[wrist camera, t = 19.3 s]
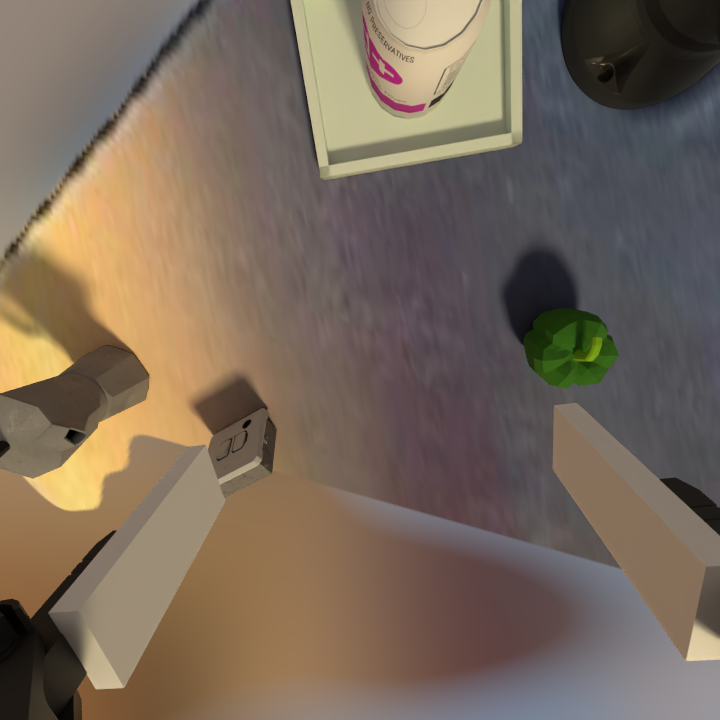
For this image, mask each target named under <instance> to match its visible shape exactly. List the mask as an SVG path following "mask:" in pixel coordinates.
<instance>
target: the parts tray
mask: <svg viewBox="0 0 720 720" xmlns="http://www.w3.org/2000/svg"><path fill="white" fill-rule="evenodd" d="M291 6H292V12H293V18H294V23H295V29H296V35H297V41H298V47H299V53H300V59H301V64H302V70H303V76H304V82H305V88H306V94H307V100H308V105H309V111H310V117H311V123H312V129H313V135H314V140H315V146H316V152H317V158H318V164H319V170H320V176H321V178H322V179H323V180H329V179H335V178H341V177H346V176H352V175H358V174H363V173H369V172H375V171H381V170H386V169H392V168H398V167H403V166H409V165H415V164H420V163H426V162H432V161H438V160H443V159H449V158H455V157H460V156H466V155H472V154H478V153H483V152H489V151H495V150H500V149H506V148H512V147H515V146H517V145H519V144H520V143H522V0H491V5H490V9H489V12H488V14H487V17H486V19H485V22H484V24H483V27H482V29H481V32H480V34H479V36H478V38H477V40H476V42H475V43H474V45H473V47H472V49H471V51H470V53H469V54H468V56H467V58H466V60H465V62H464V64H463V65H462V67H461V69H460V71H459V73H458V74H457V76H456V78H455V80H454V82H453V84H452V85H451V87H450V89H449V91H448V93H447V95H446V96H445V97H444V98H443V100H442V101H441V102H440V104H439V105H438V106H437V107H436V108H435V109H434V110H432V111H431V112H429V113H428V114H426V115H424V116H423V117H419V118H414V119H409V120H407V119H402V118H397V117H393V116H392V115H390V114H389V113H388V112H386V111H385V110H383V109H382V108H381V107H380V106H379V104H378V103H377V101H376V100H375V98H374V97H373V95H372V93H371V89H370V86H369V82H368V79H367V67H366V54H365V41H364V28H363V15H362V0H291Z"/></svg>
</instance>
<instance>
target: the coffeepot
mask: <svg viewBox="0 0 720 720" xmlns="http://www.w3.org/2000/svg"><path fill="white" fill-rule="evenodd" d="M149 378H150V377H149V375H148V373H147V371H146V370H145V368H144V366H143V365H142V363H141V362H140V361H139V360H138V359H137V358H136V357H135V356H134V354H132V353H130V352H127V351H125V350H123V349H120V348H116V347H111V346H108V345H105V346H103V347H101V348H99V349H97V350H95V351H93V352H91V353H88V354H86V355H85V356H83V357H82V358H81V359H79V360H78V361H77V362H75V363H74V364H73V365H72V366H70V367H69V368H68V369H66V370H65V371H64V372H62V373H61V374H60V375H58V376H56V377H53V378H50V379H46V380H43V381H40V382H37V383H33V384H30V385H27V386H23V387H20V388H17V389H14V390H10V391H7V392H4V393H0V468H1V469H4V470H8V471H11V472H14V473H17V474H20V475H23V476H27V477H30V478H35V477H38V476H40V475H42V474H45V473H47V472H50V471H52V470H54V469H57V468H59V467H61V466H62V465H63V464H64V463H65V462H66V461H67V460H68V458H69V457H70V456H71V455H72V454H73V453H74V452H75V451H76V450H77V449H78V448H79V447H80V446H81V445H82V444H83V442H84V441H85V440H86V439H87V438H88V437H89V436H90V435H91V434H92V433H93V432H94V431H95V430H96V429H97V427H98V423H99V422H101V421H103V420H105V419H107V418H109V417H111V416H113V415H115V414H117V413H119V412H121V411H123V410H125V409H128V408H130V407H132V406H134V405H136V404H138V403H140V402H142V401H144V400H146V396H147V392H148V389H149Z"/></svg>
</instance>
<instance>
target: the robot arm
mask: <svg viewBox="0 0 720 720" xmlns="http://www.w3.org/2000/svg"><path fill="white" fill-rule="evenodd" d="M562 45H563V52H564V57H565V61H566V64H567V67H568V69H569V72H570V74H571V76H572V78H573V80H574V81H575V83H576V84H577V86H578V87H579V88H580V89H581V90H582V91H583V92H584V93H585V94H586V95H587V96H588V97H589V98H591V99H592V100H594V101H595V102H597V103H599V104H601V105H604V106H607V107H610V108H614V109H625V110H628V109H638V108H643V107H647V106H650V105H653V104H656V103H658V102H661V101H663V100H665V99H668V98H670V97H672V96H675V95H677V94H679V93H681V92H682V91H684V90H686V89H687V88H689V87H691V86H692V85H693V84H695V83H696V82H698V81H699V80H700V79H702V78H703V77H704V76H705V75H706V74H708V73H709V72H710V71H711V70H712V69H713V68H714V67H715V66H716V65H717V64H718V63H719V62H720V0H566V4H565V8H564V14H563V22H562ZM553 471H554V472H555V473H556V475H557V476H558V478H559V479H560V481H561V482H562V483H563V485H564V486H565V488H566V489H567V491H568V492H569V494H570V495H571V496H572V498H573V499H574V501H575V502H576V504H577V505H578V506H579V508H580V509H581V511H582V512H583V514H584V515H585V517H586V518H587V519H588V521H589V522H590V524H591V525H592V527H593V528H594V529H595V531H596V532H597V534H598V535H599V537H600V538H601V540H602V541H603V542H604V544H605V545H606V547H607V548H608V550H609V551H610V553H611V554H612V555H613V557H614V558H615V560H616V561H617V563H618V564H619V565H620V567H621V568H622V570H623V571H624V573H625V574H626V575H627V577H628V578H629V580H630V581H631V583H632V584H633V586H634V587H635V588H636V590H637V591H638V593H639V594H640V596H641V597H642V599H643V600H644V601H645V603H646V604H647V606H648V607H649V609H650V610H651V611H652V613H653V614H654V616H655V617H656V619H657V620H658V621H659V623H660V624H661V626H662V627H663V629H664V630H665V632H666V633H667V635H668V636H669V637H670V639H671V640H672V641H673V643H674V645H675V646H676V647H677V649H678V650H679V652H680V653H681V655H682V656H683V658H684V659H685V660H686V661H696V660H717V659H720V508H718V507H717V506H716V504H715V503H714V502H713V501H712V500H710V499H709V498H708V497H707V496H706V495H705V494H703V493H702V492H701V491H700V490H699V489H697V488H695V487H693V486H691V485H689V484H687V483H685V482H683V481H681V480H679V479H677V478H667V479H658V478H657V477H656V476H655V475H654V474H653V473H652V472H651V471H649V470H648V469H647V468H646V467H645V466H644V465H643V464H642V463H641V462H640V461H639V460H638V459H637V458H636V457H634V456H633V455H632V454H631V453H630V452H629V451H628V450H627V449H626V448H625V447H624V446H623V445H622V444H620V443H619V442H618V441H617V440H616V439H615V438H614V437H613V436H612V435H611V434H610V433H609V432H608V431H606V430H605V429H604V428H603V427H602V426H601V425H600V424H599V423H598V422H597V421H596V420H595V419H594V418H592V417H591V416H590V415H589V414H588V413H587V412H586V411H585V410H584V409H583V408H582V407H581V406H580V405H578V404H577V403H571V404H562V405H554V437H553ZM224 503H225V499H224V496H223V493H222V490H221V487H220V484H219V482H218V479H217V476H216V473H215V470H214V467H213V464H212V461H211V459H210V456H209V453H208V450H207V447H206V445H201V446H192V447H187V448H186V449H185V450H184V452H183V453H182V454H181V455H180V456H179V458H178V459H177V460H176V461H175V462H174V463H173V465H172V466H171V467H170V468H169V470H168V471H167V472H166V473H165V474H164V475H163V477H162V478H161V479H160V480H159V481H158V483H157V484H156V485H155V486H154V487H153V489H152V490H151V491H150V492H149V493H148V494H147V496H146V497H145V498H144V499H143V501H142V502H141V503H140V504H139V505H138V506H137V508H136V509H135V510H134V511H133V512H132V514H131V515H130V516H129V517H128V518H127V520H126V521H125V522H124V523H123V524H122V525H121V527H120V528H119V529H118V530H116V531H112V532H111V533H110V534H108V535H107V536H106V537H104V538H103V539H102V540H101V541H99V542H98V543H97V544H96V545H95V546H94V547H93V548H92V549H91V550H90V551H89V553H88V554H87V555H86V556H85V557H84V558H83V559H82V560H83V561H82V562H81V563H79V564H78V565H77V566H76V568H75V569H74V570H73V571H72V572H71V575H69V576H68V577H67V578H66V579H65V580H64V581H63V583H62V584H61V585H60V586H59V587H58V588H57V589H56V591H55V592H54V593H53V594H52V595H51V596H50V598H48V600H47V601H46V602H45V603H44V604H43V605H42V607H41V608H40V609H39V610H38V611H37V612H36V613H35V615H34V616H33V617H32V618H31V619H30V618H29V616H28V615H27V613H26V612H25V610H24V608H23V607H22V605H21V604H20V602H19V601H17V600H14V599H8V600H2V601H0V720H82V705H81V697H80V695H79V692H78V691H77V688H78V687H79V685H80V683H81V682H82V680H83V679H84V677H85V676H86V674H87V675H88V677H89V679H90V680H91V682H92V683H93V685H94V687H95V688H96V689H111V688H124V687H125V685H126V683H127V682H128V680H129V678H130V676H131V674H132V672H133V671H134V669H135V667H136V665H137V663H138V661H139V660H140V657H141V656H142V654H143V652H144V650H145V648H146V647H147V645H148V643H149V641H150V639H151V637H152V636H153V634H154V632H155V630H156V628H157V626H158V624H159V623H160V621H161V619H162V617H163V615H164V613H165V611H166V610H167V608H168V606H169V604H170V602H171V601H172V599H173V597H174V595H175V593H176V591H177V589H178V588H179V586H180V584H181V582H182V580H183V578H184V577H185V575H186V573H187V571H188V569H189V567H190V565H191V564H192V562H193V560H194V558H195V556H196V554H197V553H198V551H199V549H200V547H201V545H202V543H203V541H204V539H205V538H206V536H207V534H208V532H209V531H210V529H211V527H212V525H213V523H214V521H215V519H216V518H217V516H218V514H219V512H220V510H221V508H222V507H223V505H224Z"/></svg>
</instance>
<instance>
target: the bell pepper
mask: <svg viewBox="0 0 720 720" xmlns="http://www.w3.org/2000/svg"><path fill="white" fill-rule="evenodd" d="M607 333H608V330H607V327H606V325H605V324H604V323H603V322H602V320H601V319H600V318H599V317H598V316H596V315H594V314H591V313H589V312H585V311H580V310H574V309H569V308H558V309H553V310H549V311H546V312H543V313H542V314H541V315H539V316H538V317H537V318H536V319H535V320H534V321H533V329H532V330H530V331H529V332H527V333H526V334H525V337H524V340H523V343H524V347H525V352H526V357H527V361H528V364H529V366H530V367H531V368H532V369H533V370H534V371H535V372H536V373H537V374H538V375H539V376H540V377H541V378H543V379H544V380H545V381H546V382H547V383H548V384H549V385H552V386H556V387H561V388H568V387H570V386H571V385H572V384H573V383H575V384H577V385H590V384H598V383H600V382H601V380H602V379H603V377H604V375H605V374H606V372H607V371H608V369H609V368H610V366H611V365H612V364H613V362H614V361H615V359H616V358H617V357H618V353H617V350H616V347H615V344H614V342H613V339H612V337H611V336H609V335H607Z"/></svg>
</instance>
